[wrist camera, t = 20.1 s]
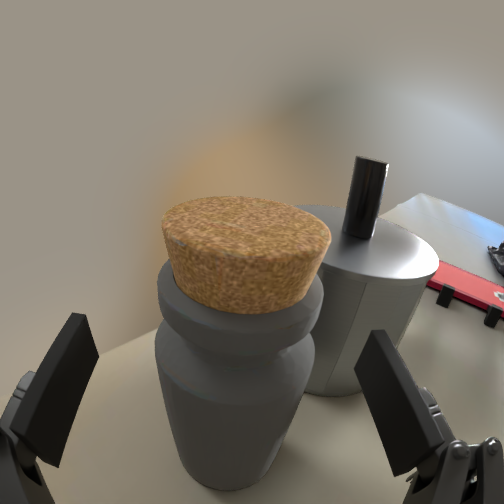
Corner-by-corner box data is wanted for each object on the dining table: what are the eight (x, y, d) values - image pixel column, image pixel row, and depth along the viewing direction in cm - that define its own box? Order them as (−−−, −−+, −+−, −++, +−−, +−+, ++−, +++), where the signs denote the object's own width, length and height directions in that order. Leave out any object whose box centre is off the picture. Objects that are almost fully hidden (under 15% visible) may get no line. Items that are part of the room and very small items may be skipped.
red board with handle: (553, 354, 19) (535, 310, 30) (562, 339, 18) (542, 297, 29) (398, 287, 35) (412, 257, 46) (404, 269, 34) (416, 243, 45)
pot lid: (228, 232, 20) (236, 138, 17) (328, 209, 29) (338, 147, 26) (403, 326, 12) (450, 193, 9) (445, 258, 20) (466, 186, 18)
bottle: (289, 445, 15) (373, 225, 9) (234, 508, 11) (285, 310, 4) (220, 402, 18) (233, 183, 11) (160, 451, 14) (101, 214, 7)
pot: (228, 336, 25) (236, 225, 20) (311, 292, 33) (330, 205, 28) (340, 423, 17) (403, 309, 12) (403, 344, 25) (443, 251, 20)
